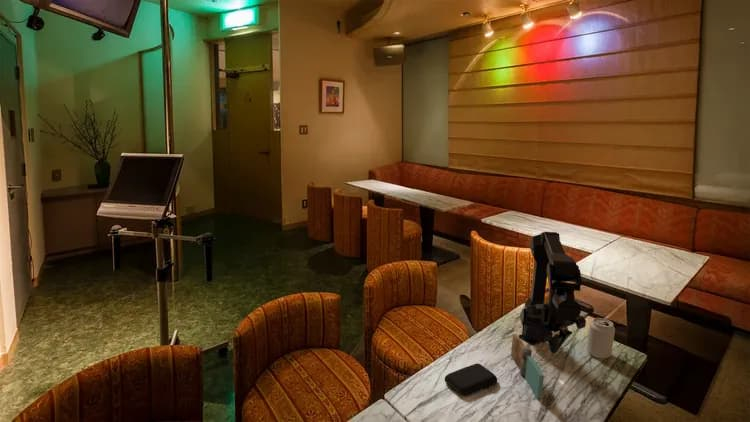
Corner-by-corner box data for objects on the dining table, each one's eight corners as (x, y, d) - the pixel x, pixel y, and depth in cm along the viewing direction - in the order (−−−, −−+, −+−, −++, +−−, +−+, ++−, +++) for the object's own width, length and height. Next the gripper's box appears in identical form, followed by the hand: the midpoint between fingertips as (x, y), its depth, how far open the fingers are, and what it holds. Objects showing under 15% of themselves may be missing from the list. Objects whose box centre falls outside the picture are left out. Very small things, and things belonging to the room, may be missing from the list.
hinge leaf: (519, 371, 139) (521, 350, 137) (527, 371, 139) (529, 350, 137) (534, 398, 126) (537, 375, 125) (543, 398, 126) (546, 375, 125)
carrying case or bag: (464, 402, 126) (502, 386, 133) (465, 393, 125) (503, 377, 132) (441, 382, 135) (478, 368, 142) (442, 373, 134) (478, 359, 141)
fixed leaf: (530, 377, 137) (533, 352, 134) (522, 377, 136) (524, 353, 134) (516, 355, 148) (518, 332, 146) (508, 355, 148) (510, 332, 146)
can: (613, 361, 145) (619, 328, 142) (589, 358, 147) (594, 326, 144) (607, 349, 152) (611, 317, 149) (583, 346, 154) (588, 315, 151)
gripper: (556, 286, 134) (551, 332, 138) (512, 299, 125) (508, 348, 129) (590, 300, 125) (583, 349, 129) (545, 315, 116) (539, 367, 120)
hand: (553, 352), depth 127 cm, fingers closed
